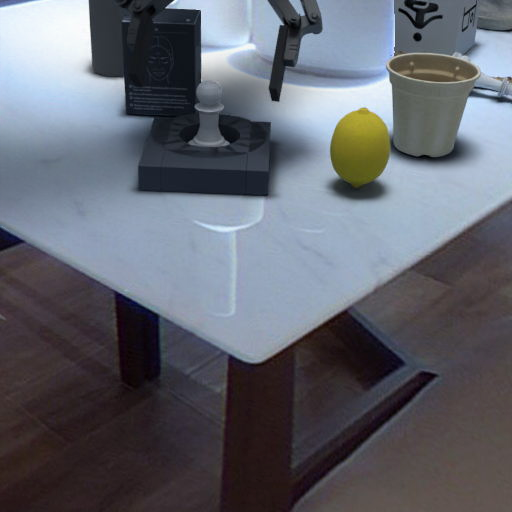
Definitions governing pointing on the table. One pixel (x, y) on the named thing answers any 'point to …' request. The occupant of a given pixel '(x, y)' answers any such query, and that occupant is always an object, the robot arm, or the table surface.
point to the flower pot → (429, 100)
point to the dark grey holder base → (206, 157)
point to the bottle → (106, 37)
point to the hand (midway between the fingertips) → (203, 88)
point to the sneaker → (495, 14)
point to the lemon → (360, 147)
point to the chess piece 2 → (490, 81)
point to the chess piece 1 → (209, 115)
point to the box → (167, 65)
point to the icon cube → (435, 25)
